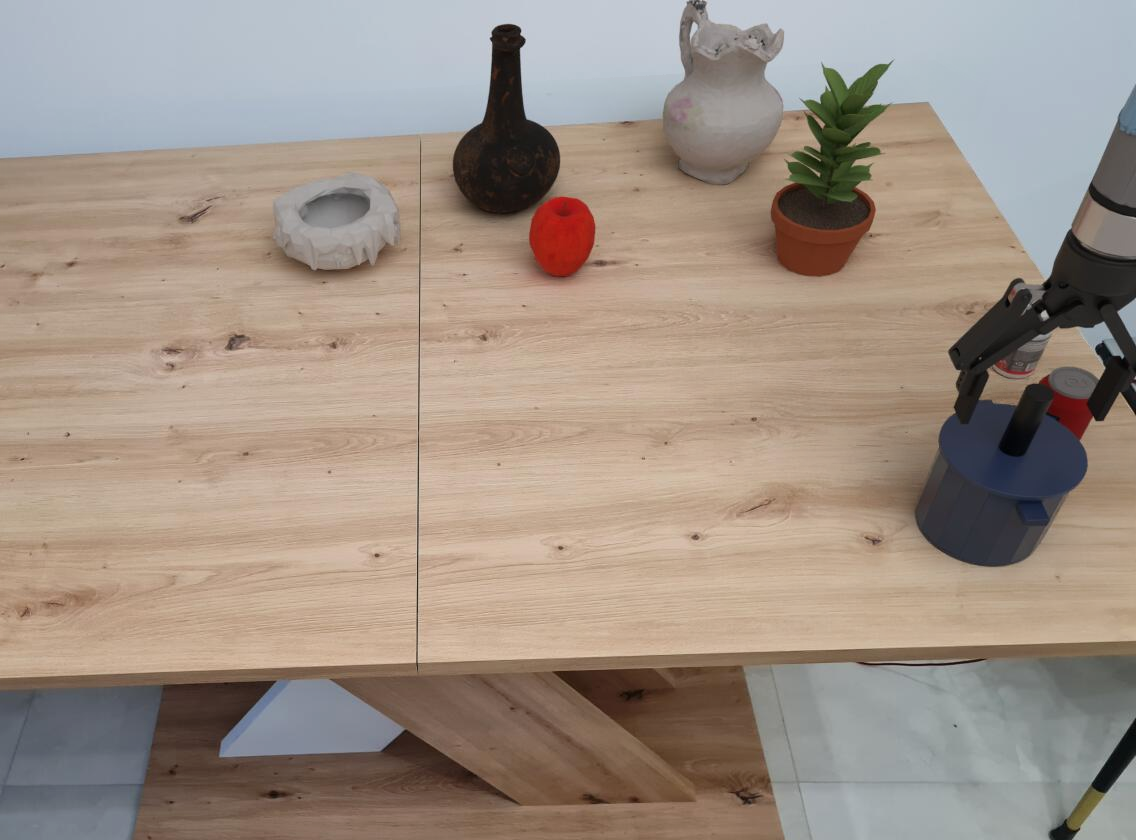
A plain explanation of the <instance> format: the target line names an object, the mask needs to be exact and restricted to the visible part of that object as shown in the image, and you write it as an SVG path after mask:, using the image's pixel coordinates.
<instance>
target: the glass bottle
mask: <svg viewBox="0 0 1136 840" xmlns="http://www.w3.org/2000/svg"><path fill="white" fill-rule="evenodd" d="M521 34H522V28H521V27H520V26H518V25H517V24H513V23H503V24H498V25H496V26H495V27H494V28H493V29H492V30H491V36H490V37H489V40H490V42H491V62H490V63H491V66H490V77H489V87H488V88H489V89H488V96H487V103H486V108H485V112H484V117H483V119H482V121H481V123H478V124H476V125H475V126H473V127H472V128H471V129H469V130H468V131H467V132H466V133H465V134H463V136H462V137H461V138H460V140H459V141H458V143H457V145H456V147H455V150H454V153H453V155H452V157H453V158H452V173H453V177H454V179H455V180H454V181H455V183H456V185H457V188H458V190H459V191H460V193H461V194H462V195H463V197H464V198H465V199H466V200H467V201H468V202H470V203H471V204H472V205H474V206H475V207H477V208H479V209H481V210H484V211H487V212H491V213H498V214H499V213H501V214H503V213H504V214H508V213H515V212H519V211H522V210H525V209H528V208H530V207H532V206H533V205H535V204H537V203H538V202H539V201H540V200H542V199H543V198H544V197H545V196H546V195H547V193H549V191H550V190H551V188H552V187H553V186H554V184H555V182H556V181H557V179H558V176H559V172H560V168H561V151H560V148H559V145H558V143H557V141H556V139H555V137H554V136H553V134H552V133H551V132H550V131H549V130H548V129H547V128H545V127H544V126H543V125H542V124H539V123H538V122H536V121H533V120H531V119H527V116H526V112H525V104H524V94H523V84H522V81H523V80H522V63H521V62H522V61H521V59H522V58H521V49H522V48H523V47H524V45H525V44H526V41H527V39H526V38H525V36H523V35H521Z"/></svg>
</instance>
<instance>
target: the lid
mask: <svg viewBox="0 0 1136 840" xmlns="http://www.w3.org/2000/svg"><path fill="white" fill-rule="evenodd" d="M1038 383H1039V382H1038ZM1038 383H1037V382H1035V383H1030V384H1028V385H1026V386H1025V388H1024V389H1023V392H1022V394H1021V396H1020V398H1019V401H1018V403H1017V405H1014V404H1008V403H996V402H995V403H994V402H993V403H990V404H979V405H976V408H975V410H974V412H973V415H972V417H971V419H970V421H969V424H961V423H960V421H959V419H958V416H957V414H956V412H954V413H953V414H951V415H950V416H948V418H947V419H946V420H945V422H943V424H942V425H941V428H940V431H939V432H938V433H939V434H938V442H937V443H938V448H939V449H940V452H941V454H942V456H943V458H944V460H945V461H946V463H947V464H948V466H949V467H950V468H951V469H952V470H953V471H954V472H955V473H956V474H957V475H959V476H960V477H961V478H962V479H964V480H965V481H967V482H968V483H970V484H972V485H974V486H975V487H977V488H979V489H982V490H984V491H986V492H989V493H992V494H994V495H998V496H1001V497H1005V498H1010V499H1016V500H1028V501H1036V500H1047V499H1053V498H1056V497H1059V496H1062V495H1064V494H1067V493H1069V494H1070V492H1073V490H1075V489H1076V488H1077V487H1078V486H1079V485H1080V484H1081V483H1082V481H1083V480H1084V478H1085V476H1086V474H1087V471H1088V467H1089V464H1088V463H1089V460H1088V454H1087V451H1086V449H1085V447H1084V445H1083V443H1082V442H1081V440H1080V441H1079V440H1078V438H1077V437H1076V436H1075V435H1074V434H1073V433H1072V432H1071V431H1070V430H1069V429H1068V428H1066V427H1065V426H1064V425H1062V424H1061V423H1059V422H1058V421H1056V420H1054V419H1052V418H1051V417H1049V416H1047V415H1045V414H1046V412H1047V410H1048V408H1049V406H1050V404H1051V402H1052V400H1053V398H1054V396H1055V394H1054V391H1053V390H1052V389H1051V388H1050V387H1048V386H1046V385H1043V384H1038Z"/></svg>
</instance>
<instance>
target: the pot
mask: <svg viewBox="0 0 1136 840" xmlns="http://www.w3.org/2000/svg"><path fill="white" fill-rule="evenodd" d="M990 403H994V401H993V400H992V399H979V401H978V403H977V405H979V404H990ZM1069 494H1070V492H1069V493H1067V494H1064V495H1062V496H1059V497H1056V498H1053V499H1047V500H1036V501H1028V500H1016V499H1010V498H1005V497H1001V496H998V495H994V494H992V493H989V492H986V491H984V490H982V489H979V488H977V487H975V486H974V485H972V484H970V483H968V482H967V481H965V480H964V479H962V478H961V477H960V476H959V475H957V474H956V473H955V472H954V471H953V470H952V469H951V468H950V467H949V466H948V464H947V463H946V461H945V460H944V458H943V456H942V454H941V452H940V449H939V447H938V448H937V450H936V453H935V455H934V457H933V460H932V462H931V465H930V467H929V470H928V471H927V475H926V477H925V479H924V482H923V484H922V486H921V489H920V492H919V494H918V496H917V500H916V504H915V507H914V518H915V522H916V525H917V527H918V529H919V531H920V532H921V534H922V535H923V537H925V539H926V540H927V541H928V542H929V543H930V544H931V545H932V546H934V547H935V548H936V549H937V550H939V551H940V552H942V553H943V554H945V555H947V556H949V557H951V558H953V559H955V560H958V561H960V562H964V563H966V564H970V565H975V566H980V567H991V568H993V567H996V568H997V567H1006V566H1012V565H1014V564H1018V563H1021V562H1022V561H1024V560H1026V559H1027V558H1029V557H1030V556H1031V555H1033V554H1034V552H1035V551H1036V550H1037V549H1038V547H1039V546H1040V545H1041V543H1042V542H1043V540H1044V538H1045V537H1046V535H1047V533H1048V531H1049V529H1050V527H1051V526H1052V524H1053V522H1054V520H1055V519H1056V517H1057V515H1058V514H1059V511H1061V509H1062V507H1063V505H1064V503H1065V502H1066V499H1067V498H1068V496H1069Z"/></svg>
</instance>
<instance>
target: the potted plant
mask: <svg viewBox="0 0 1136 840" xmlns="http://www.w3.org/2000/svg"><path fill="white" fill-rule="evenodd" d="M894 61H895V59H893V60H891V61H890V62H889V63H878V64H875V65H874V66H872V67H871V68H869V69H868V70H867V71H866V72H865V73H864V74H863V75H862V76H860V77H858V78H857V79H855V80H854V81H853V82H852V84H850V86H849V87H847V84H846V82H845V80H844V78H843V77H842V75H841V74H840V73H839V72H838V71H837V70H836V69H834V68H832V67H825V64H823V62H822V61H821V62H820V63H821V68H822V73H823V77H824V78H825V81H826V83H827V85H825V89H824V90H825V91H824V92H822V94H820V97H819V100H820V102H819V101H817V100H814V99H806V100H804V99H802V98H800V97H798V98H799V100H800V101H801V102H802V103H803V105H805V107H806V108H807V109H808V110H809V111H811V113H813V114H814V116H816V117H817V118H818V119H819V120H820V121H821V122H822V123H823V124H824V125H823V127H822V126H821V124H820V123H819V121H818V120H816V118H815V117H814V116H813V115H811V114H808V113H806V111H805V110H802V112H803V113H804V115H805V117H806V121H807V125H808V128H809V129H810V131H811V133H812V135H813V136H814V138H815V139H816V141H817V142H818V144H819V145H820V148H819V150H817V149H816V148H814V147H811V146H809V145H805V146H803V147H802V148H801V149H802V150H804V151H805V152H804V151H797V150H796V151H794V152H793V153H792V154H791V153H788V152H786V154H787V155H789V156H790V157H791V158H793V159H795V160H796V161H788V160H787V159H785V158H783V160H784V162H785V163H786V165H787V169H788V171H789V173H791V174H790V175H789V176H788V178H784V180H785V181H790V182H792V183H789V184H788V185H785V186H783V187H782V188H781V189H780V190H778V191H777V192H776V193H775V195H774V197H773V199H772V202H771V208H770V220H771V222H772V224H774V233H775V234H774V235H775V245H776V246H775V247H776V256H777V261H778V262H779V263H780V265H781V266H782V267H784V268H785V269H786V270H788V271H790V272H793V273H795V274H796V275H800V276H805V277H806V276H807V277H824V276H830V275H833V274H835V273H839V272H840V271H841V270H842V269H843V268H844V267H845V266H846V264H847V262H848V260H849V259H850V257H851V255H852V254H853V253H854V251H855V249H856V248H857V246H858V244H859V243H860V240H861V239H862V238H863V236H864V235H866V234H867V233H868V232H869V231H870V230H871V227H872V225H873V223H874V218H875V216H876V212H877V208H876V204H875V202H874V200H873V199H872V198H871V197H870V196H869V194H868V193H866V192H865V191H863V190H861V189H859V188H858V187H857V186H858V185H859V184H861V183H862V182H868V181H873V179H872V176H873V175H872V174H871V173H870V171H871V170H870V168H871V167H872V166H873V165H874V164H875V161H874V162H871V163H870V164H868V165H863V164H857V165H856V164H855V162H856V161H858V160H862V159H867V158H872V157H877V156H881V155H885V154H886V152H882V150H881V149H880V148H879V147H877V146H876V147H874V146H871V145H872V143H871V142H870V141H865V142H862V143H858V144H857V143H856V142H855V143H854V144H853V145H852V146H849V145H850V144H851V143H852V142H853V141H854V139H855V138H856V137H858V135H859V134H860V133H861V132H863V130H864V129H865V128H866V127H867V126H868V125H869V124H870V123H871V122H872V121H874V120H875V119H877V118H878V117H880V116H881V115H882V114H883V113H884V112H885V111H886V110H887V109H888V108H889V107H890V106H891V105H892V104H893V103H894V102H890V103H888V104H887V105H883V104H882V102H881V103H879V104H872V105H870V106H865V105H866V104H867V102H868V101H869V100H870V99H871V98H872V97H873V95H874V93H875V90H876V88H877V86H878V84H879V80H880V79H881V78H882V76H883V75H884V74H885V73H887V71H888V70H889V68H890V66H891V65H892V64H893V62H894ZM864 106H865V107H864ZM856 144H857V145H856ZM870 146H871V147H870ZM854 164H855V165H854ZM816 172H817V173H818V174H819V175H818V174H817V173H816Z"/></svg>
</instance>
